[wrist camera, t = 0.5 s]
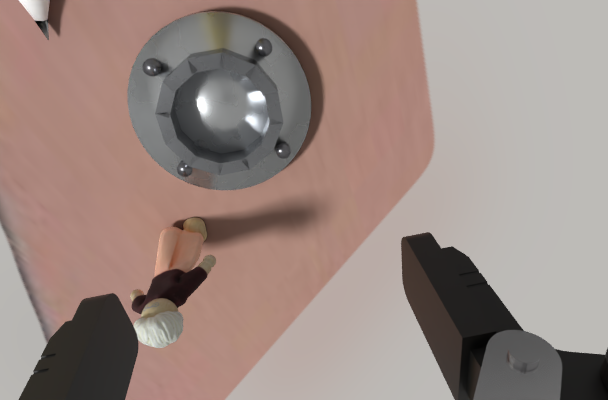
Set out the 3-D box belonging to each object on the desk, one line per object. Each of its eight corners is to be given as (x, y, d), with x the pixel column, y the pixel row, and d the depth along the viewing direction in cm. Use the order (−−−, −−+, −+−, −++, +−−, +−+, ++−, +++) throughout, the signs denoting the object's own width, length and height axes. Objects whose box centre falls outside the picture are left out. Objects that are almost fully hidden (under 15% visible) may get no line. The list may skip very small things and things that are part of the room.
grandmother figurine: (196, 200, 37) (174, 296, 26) (225, 228, 39) (215, 329, 28) (135, 247, 39) (89, 356, 28) (165, 271, 40) (134, 383, 29)
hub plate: (102, 29, 30) (87, 34, 27) (294, -5, 30) (299, -3, 27) (164, 197, 37) (157, 215, 34) (319, 168, 37) (325, 184, 34)
